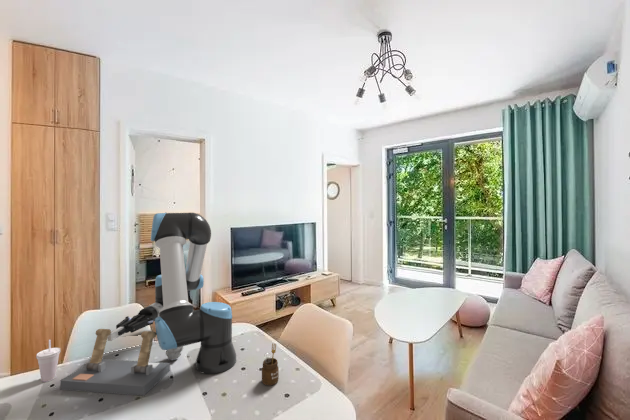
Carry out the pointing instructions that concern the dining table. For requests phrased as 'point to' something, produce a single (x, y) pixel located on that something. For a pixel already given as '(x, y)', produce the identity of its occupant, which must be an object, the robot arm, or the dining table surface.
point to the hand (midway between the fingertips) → (109, 337)
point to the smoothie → (48, 363)
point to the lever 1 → (98, 348)
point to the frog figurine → (174, 353)
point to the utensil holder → (270, 369)
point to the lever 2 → (145, 351)
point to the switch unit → (116, 377)
